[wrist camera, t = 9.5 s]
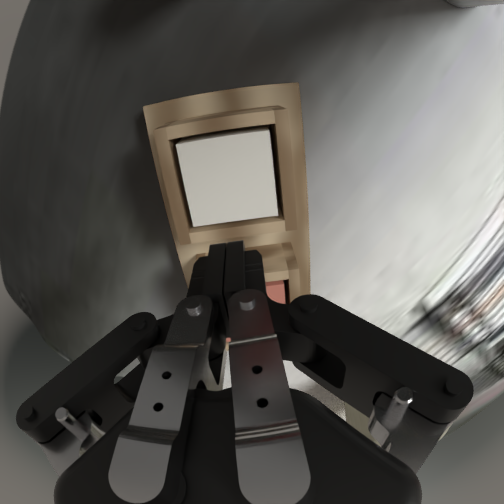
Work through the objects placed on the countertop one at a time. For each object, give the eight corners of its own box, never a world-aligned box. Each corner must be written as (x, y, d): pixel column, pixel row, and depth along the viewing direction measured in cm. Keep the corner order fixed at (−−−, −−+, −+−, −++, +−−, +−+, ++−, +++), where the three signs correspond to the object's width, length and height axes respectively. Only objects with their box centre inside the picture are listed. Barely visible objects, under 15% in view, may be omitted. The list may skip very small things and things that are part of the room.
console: (294, 82, 25) (311, 81, 19) (307, 310, 39) (318, 349, 33) (148, 105, 25) (123, 111, 19) (203, 323, 40) (200, 363, 34)
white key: (265, 125, 23) (269, 130, 21) (273, 201, 27) (278, 215, 24) (182, 138, 24) (175, 144, 21) (197, 212, 27) (193, 226, 25)
